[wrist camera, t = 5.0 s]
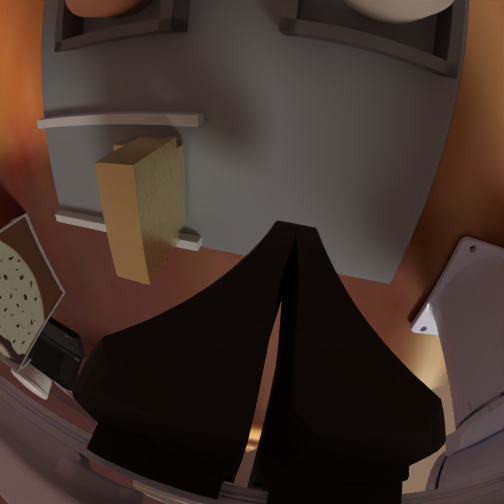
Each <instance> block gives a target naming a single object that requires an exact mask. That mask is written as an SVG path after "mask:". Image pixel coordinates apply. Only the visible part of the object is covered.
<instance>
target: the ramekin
mask: <svg viewBox="0 0 504 504" xmlns="http://www.w3.org/2000/svg"><path fill="white" fill-rule="evenodd" d="M11 372H12V373H13V374H14V376H15V377H16V378H17V379H18V380H19V381H20V382H22V384H24V385H25V386H26V387H27V388H28V389H30V390H31V391H32V392H34V393H35V394H36V395H38V396H39V397H41V398H43V399H47V398H48V393H49V390H50V387H51V384H52V382H51V379H50V378H49V377H48V376H46V375H45V374H43V373H42V372H41V371H39V370H38V369H36V368H35V367H34V366H32V365H31V364H30V363H28V364H27V365H26V366H25V367H24V368H23V369H22V368H21V369H20V370H19V372H16V371H15V370H14V369H11Z"/></svg>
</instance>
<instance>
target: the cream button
mask: <svg viewBox="0 0 504 504" xmlns="http://www.w3.org/2000/svg"><path fill="white" fill-rule="evenodd" d="M341 1H342V2H343V3H344V4H345V5H347V6H348V7H349V8H351V9H352V10H354V11H356V12H357V13H359V14H361V15H363V16H365V17H368V18H370V19H373V20H376V21H380V22H384V23H391V24H403V23H410V22H414V21H416V20H419V19H421V18H424V17H427V16H430V15H432V14H435V13H438V12H441V11H442V10H444V9H446V8H447V7H449V6H450V5H451V4H452V3H453V1H454V0H341Z"/></svg>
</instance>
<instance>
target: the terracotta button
mask: <svg viewBox="0 0 504 504" xmlns="http://www.w3.org/2000/svg"><path fill="white" fill-rule="evenodd" d="M151 1H152V0H65V2H66V5H67V7H68V8H69V10H70V11H71V12H72V13H73V14H75V15H77V16H81V17H102V18H124V17H127V16H130V15H133V14H135V13H137V12H139V11H140V10H142V9H143V8H145V7H146V6H147V5H148V4H149V3H150V2H151Z"/></svg>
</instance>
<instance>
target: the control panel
mask: <svg viewBox="0 0 504 504" xmlns="http://www.w3.org/2000/svg"><path fill="white" fill-rule="evenodd" d="M468 9H469V0H454V1H453V3H452V4H451V5H450V6H449V7H447V8H446V9H444V10H442V11H441V12H438V13H435V14H432V15H430V16H427V17H424V18H421V19H419V20H416V21H414V22H410V23H403V24H391V23H384V22H380V21H376V20H373V19H370V18H368V17H365V16H363V15H361V14H359V13H357V12H356V11H354V10H352V9H351V8H349V7H348V6H347V5H345V4H344V3H343V2H342V1H341V0H152V1H151V2H150V3H149V4H148V5H147V6H146V7H145V8H143V9H142V10H140V11H139V12H137V13H135V14H133V15H130V16H127V17H124V18H102V17H81V16H77V15H75V14H73V13H72V12H71V11H70V10H69V8H68V7H67V5H66V2H65V0H45V4H44V13H43V26H42V48H41V72H42V95H43V108H44V118H42V119H39V120H37V124H38V129H40V128H46V136H47V143H48V149H49V156H50V162H51V167H52V172H53V177H54V182H55V187H56V192H57V196H58V200H59V204H60V209H61V210H60V211H59V212H57V213H56V214H55V216H56V220H57V221H59V222H63V223H68V224H72V225H77V226H81V227H86V228H91V229H95V230H100V231H104V232H107V231H106V226H105V221H104V216H103V211H102V206H101V200H100V194H99V188H98V182H97V175H96V168H95V162H96V161H98V160H100V159H101V158H103V157H105V156H106V155H108V154H110V153H111V152H113V151H114V148H113V145H114V144H116V143H118V142H120V141H122V140H135V139H136V138H138V137H140V136H142V135H145V136H165V137H176V143H184V166H185V213H186V223H185V225H184V226H183V227H182V229H181V230H180V231H179V233H180V241H179V242H178V244H177V245H176V247H180V248H185V249H190V250H194V251H198V250H199V248H200V246H201V247H206V248H211V249H216V250H220V251H225V252H230V253H235V254H240V255H245V256H246V255H247V254H249V253H250V252H251V250H252V249H253V248H254V247H255V246H256V245H257V244H258V243H259V242H260V241H261V240H262V239H263V237H264V236H265V235H266V234H267V233H268V231H269V230H270V229H271V227H272V226H273V224H274V223H275V222H276V221H278V220H279V221H285V222H290V223H295V224H300V225H305V226H311V227H316V229H317V230H318V232H319V235H320V238H321V240H322V243H323V245H324V247H325V250H326V252H327V254H328V256H329V258H330V260H331V262H332V264H333V266H334V268H335V270H336V272H337V274H341V275H347V276H352V277H357V278H362V279H367V280H372V281H377V282H383V283H388V284H390V283H391V281H392V279H393V277H394V275H395V273H396V271H397V268H398V266H399V264H400V262H401V260H402V258H403V256H404V253H405V251H406V249H407V247H408V244H409V242H410V240H411V238H412V235H413V233H414V230H415V228H416V226H417V223H418V221H419V218H420V216H421V213H422V211H423V208H424V205H425V203H426V200H427V197H428V195H429V192H430V189H431V186H432V183H433V180H434V177H435V174H436V171H437V168H438V165H439V162H440V159H441V156H442V152H443V149H444V146H445V142H446V139H447V135H448V131H449V127H450V124H451V120H452V115H453V111H454V107H455V102H456V98H457V93H458V88H459V83H460V77H461V72H462V66H463V59H464V52H465V44H466V35H467V24H468Z"/></svg>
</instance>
